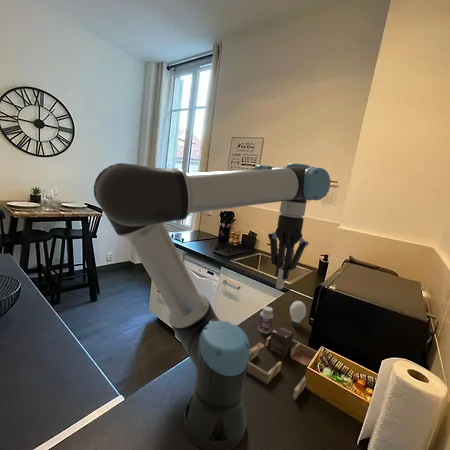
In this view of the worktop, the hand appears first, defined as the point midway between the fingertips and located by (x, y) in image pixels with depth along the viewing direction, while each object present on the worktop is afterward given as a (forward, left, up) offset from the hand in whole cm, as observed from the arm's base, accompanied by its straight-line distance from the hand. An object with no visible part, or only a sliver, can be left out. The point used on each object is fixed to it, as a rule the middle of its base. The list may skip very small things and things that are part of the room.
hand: (279, 287), depth 85 cm
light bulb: (+31, +4, -27) cm, 41 cm away
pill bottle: (+16, +11, -27) cm, 33 cm away
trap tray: (+3, -3, -26) cm, 27 cm away
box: (+9, 0, -27) cm, 28 cm away
